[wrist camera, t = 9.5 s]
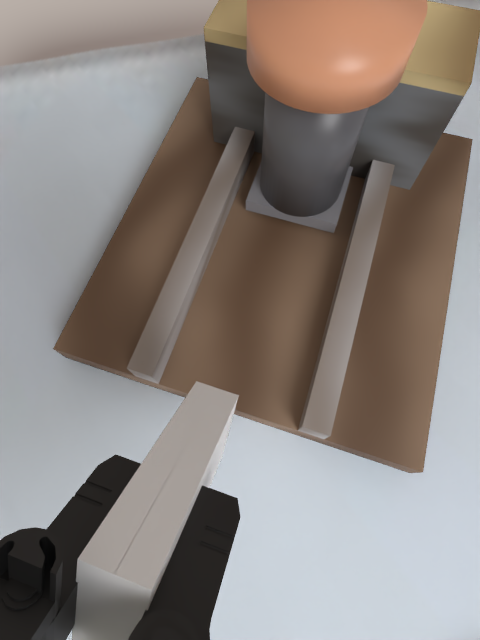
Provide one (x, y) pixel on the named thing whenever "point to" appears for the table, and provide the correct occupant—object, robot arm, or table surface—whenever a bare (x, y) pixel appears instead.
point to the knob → (321, 94)
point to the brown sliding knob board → (293, 258)
